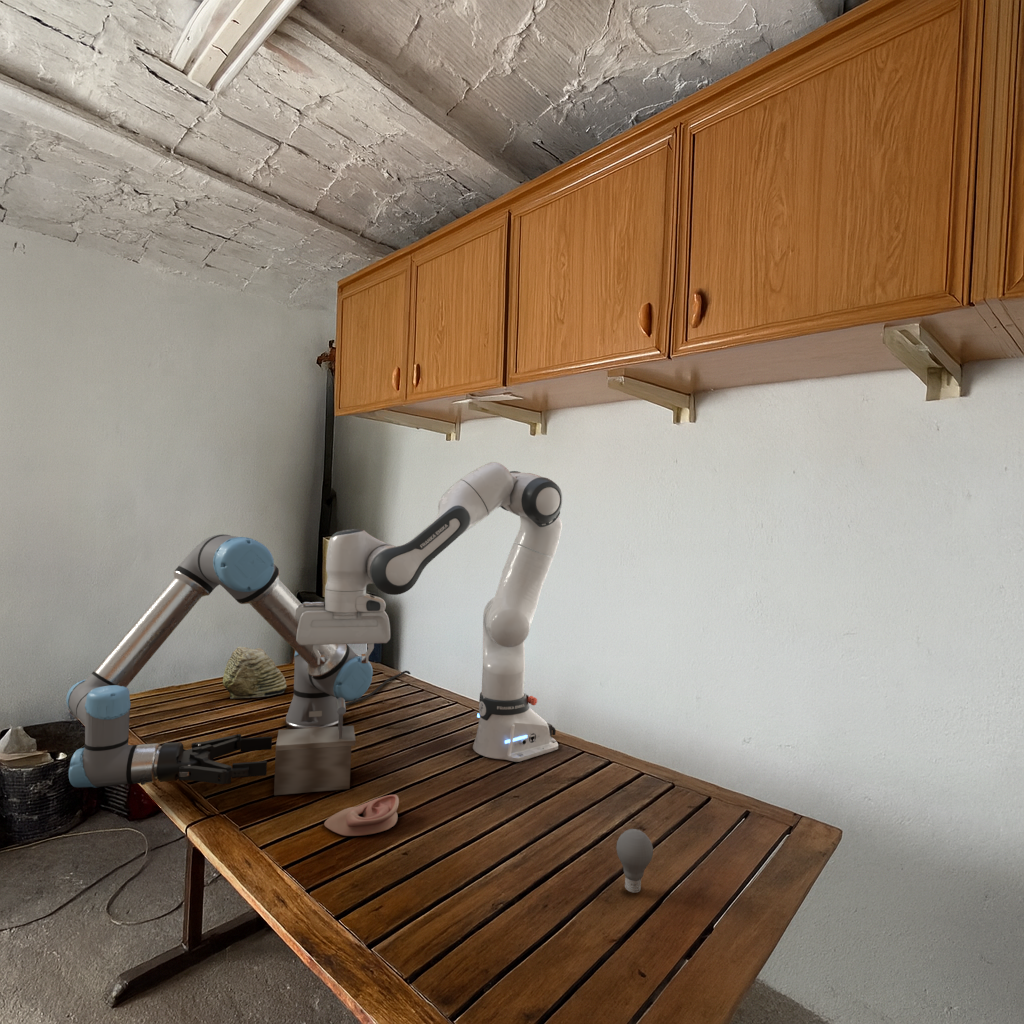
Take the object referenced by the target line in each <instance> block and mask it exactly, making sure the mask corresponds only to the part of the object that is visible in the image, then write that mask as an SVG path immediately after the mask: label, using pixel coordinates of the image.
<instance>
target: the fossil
mask: <svg viewBox="0 0 1024 1024" xmlns="http://www.w3.org/2000/svg"><path fill="white" fill-rule="evenodd" d="M222 676H223V677H222V685H223V687H224V688H225V690H226V691H228V693H229V698H230V699H250V698H264V697H271V696H275V695H281V694H284V693H285V691H286V689H287V687H288V686H287V680H286V678H285V676H284V674H283V673H282V672H281V669H279V668H278V667H277V665H276V663H275V662H274V660H273V659H272V658H271V657H270V656H269V655H268V654H267V653H266V652H265V650H264V649H263V648H260V647H258V648H251V647H247V646H246V647H245V646H238V647H237V648H236V649H235V650H233V651H232V653H231V656H230V657H229V659H228V660H227V663H226V666H225V668H224V671H223V675H222Z"/></svg>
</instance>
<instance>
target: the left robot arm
mask: <svg viewBox="0 0 1024 1024" xmlns="http://www.w3.org/2000/svg"><path fill="white" fill-rule="evenodd" d="M274 560H275V559H274V557H273V554H272V553H271V551H270V550H269V548H268V547H267V546H266V545H265V544H263V543H262V542H260V541H258V540H257V539H253V538H251V537H247V536H246V537H245V536H236V535H235V536H234V535H230V534H222V533H221V534H216V535H212V536H209V537H207V538H205V539H204V540H202V541H201V542H200V543H198V544H197V545H196V546H195V547H194V548H193V549H192V550H191V551H190V552H189V554H187V556H186V557H185V558H184V559H183V560H182V561H181V563H180V564H179V565H178V566H177V567H176V568H175V569H174V571H173V579H172V580H170V582H169V583H168V585H167V586H166V587H165V588H164V589H163V590H162V591H161V593H160V594H159V595H158V596H157V597H156V598H155V599H154V601H153V602H152V603H151V604H150V605H149V607H148V608H147V609H146V610H145V611H144V612H143V614H142V615H141V616H140V617H139V618H138V619H137V620H136V621H135V622H134V624H133V625H132V626H131V627H130V628H129V629H128V630H127V632H126V633H125V634H124V635H123V636H122V638H121V639H120V640H119V641H118V642H117V644H115V646H113V649H112V650H111V651H109V653H108V654H107V655H106V656H105V658H104V659H102V661H101V662H100V663H99V664H98V666H96V668H95V669H94V670H93V671H92V672H91V673H90V674H89V676H87V678H85V679H82V680H79V681H77V682H76V683H74V684H73V685H72V686H71V687H70V688H69V690H68V691H67V693H66V696H65V697H66V698H65V702H66V703H65V704H66V706H67V708H68V710H69V712H70V713H71V715H73V716H74V717H75V718H77V719H78V721H80V723H81V724H82V725H83V726H84V746H83V747H80V748H78V749H76V750H75V752H73V755H72V756H71V758H70V762H69V768H68V779H69V783H70V785H71V786H72V787H74V788H93V789H94V788H95V789H97V788H102V787H112V786H122V785H124V786H125V785H137V784H140V785H141V786H145V785H146V784H149V783H155V782H156V781H158V782H160V783H165V782H166V783H167V782H177V781H193V782H200V783H201V782H202V783H207V784H208V783H209V784H215V785H216V784H217V785H228V784H231V783H232V779H237V778H240V779H241V778H251V777H263V776H267V773H268V772H267V769H268V760H260V761H248V762H246V761H245V762H233V763H232V765H229V764H225V763H222V762H219V761H215V760H214V759H216V758H219V757H222V756H225V755H228V754H231V753H234V752H238V751H240V752H241V753H242V752H255V751H257V752H258V751H269V750H272V748H273V746H272V745H273V736H259V737H257V736H256V737H242V734H241V733H237V734H233V735H228V736H224V737H223V736H222V737H219V738H214V739H210V740H205V741H197V742H192V743H191V746H190V747H191V748H189V749H185V747H184V744H183V742H180V741H178V742H177V741H175V742H164V743H162V744H160V743H159V742H157V743H143V744H129V738H130V737H129V735H130V734H129V733H130V716H131V715H130V714H131V713H130V712H131V705H132V702H131V695H130V694H131V693H130V689H129V688H128V686H129V685H130V683H131V682H133V680H134V678H136V677H137V675H138V674H139V673H140V672H141V670H142V669H143V668H144V667H145V665H147V664H148V662H149V661H150V659H152V657H153V656H154V655H155V653H156V652H157V651H158V650H159V649H160V648H161V646H163V644H164V643H165V641H167V639H168V638H169V637H170V635H171V634H172V633H173V632H174V631H175V630H176V628H177V627H178V626H179V625H180V623H182V621H183V620H184V619H185V618H186V616H187V615H189V613H190V612H191V611H192V609H194V607H195V606H196V605H197V604H198V602H199V601H200V600H201V598H203V597H206V596H208V597H209V596H210V595H211V593H212V592H213V591H214V590H215V589H216V588H217V587H218V586H221V587H222V588H223V589H224V590H225V592H227V593H228V594H229V595H230V596H231V597H232V599H234V600H235V601H236V602H237V603H238V604H241V605H247V604H248V605H249V606H251V607H252V608H253V609H254V610H255V612H257V613H258V614H259V616H260V617H261V618H263V620H264V621H265V622H266V623H268V624H269V625H270V626H271V628H272V629H273V630H274V631H275V632H276V633H277V634H278V635H279V636H280V637H281V638H282V639H283V640H284V641H285V642H286V643H287V644H288V645H289V646H290V647H291V648H292V649H293V650H294V655H293V657H294V672H293V695H292V696H293V697H292V699H291V702H290V704H289V708H288V711H287V713H286V715H285V726H286V728H287V729H304V728H321V727H338V717H339V714H338V713H337V703H336V701H337V699H338V698H344V700H345V706H346V707H347V706H351V705H353V704H356V703H359V702H362V701H364V700H367V699H368V698H370V697H372V696H374V695H375V694H376V693H377V692H378V691H380V690H381V688H383V687H384V686H385V685H386V684H387V683H389V682H390V681H393V680H394V679H396V678H398V677H401V676H402V675H405V674H408V675H411V674H412V673H411V672H410V671H409V670H404V671H401V672H400V673H401V674H400V673H397V674H395V675H393V676H391V677H389V678H387V679H386V680H384V681H383V682H382V683H381V684H380V685H379V686H377V688H376V689H374V690H373V691H371V692H370V693H369V694H366V693H367V692H368V690H369V688H370V686H371V684H372V681H373V675H374V670H373V666H372V664H371V662H370V661H369V660H368V663H361V659H362V658H361V655H358V654H357V653H356V652H355V651H354V650H353V649H352V648H351V647H350V646H349V644H329V645H320V648H319V650H318V651H319V653H320V654H321V655H325V660H324V661H325V662H324V665H318V657H317V656H316V654H315V653H314V651H313V645H299V644H298V643H297V641H296V637H297V629H298V623H299V622H298V621H297V620H296V608H297V607H298V606H299V605H301V604H302V603H301V601H300V600H299V599H298V598H297V597H296V596H295V595H294V594H293V593H292V592H291V590H290V589H289V588H288V587H287V586H286V585H285V584H284V583H283V582H282V580H280V572H281V571H280V569H279V567H278V566H277V565H276V563H275V561H274ZM301 607H303V606H301ZM365 694H366V695H365Z"/></svg>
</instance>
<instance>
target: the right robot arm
mask: <svg viewBox="0 0 1024 1024" xmlns="http://www.w3.org/2000/svg"><path fill="white" fill-rule="evenodd" d="M562 504H563V492H562V490H561V488H560V486H559V485H558V484H557V483H556V482H555V481H553V480H552V479H550V478H548V477H544V476H541V475H539V474H535V473H532V472H521V471H517V470H509V469H508V467H506V466H505V465H503V464H502V463H499V462H497V461H491V462H488V463H485V464H483V465H480V466H479V467H477V468H476V469H473V470H472V471H470V472H469V473H467V474H465V475H464V476H462V477H461V478H460V479H459V480H457V481H456V482H455V483H453V484H452V485H451V486H450V487H449V488H448V489H447V490H446V491H445V492H444V493H443V494H442V495H441V496H440V498H439V500H438V506H437V507H438V509H437V510H438V511H437V515H436V517H435V518H434V519H433V520H432V521H431V522H430V523H429V524H428V525H427V526H426V527H425V528H424V529H422V530H421V531H420V532H418V533H417V534H416V535H415V536H414V537H413V538H411V539H410V540H409V541H408V542H405V543H404V544H401V545H397V546H396V545H393V544H391V543H387V542H386V541H382V540H380V539H378V538H376V537H375V536H373V535H371V534H369V532H367V531H366V530H364V529H362V528H349V529H343V530H338V531H336V532H334V533H333V534H332V535H331V536H330V538H329V540H328V543H327V550H326V560H325V571H326V574H327V575H326V577H327V578H326V583H325V587H324V589H325V590H324V601H312V602H310V601H304V602H302V603H301V605H299V606H298V607H297V608H296V620H297V621H298V622H299V623H298V629H297V637H296V641H297V643H298V644H299V645H313V651H314V653H315V654H316V656H317V657H318V665H324V662H325V661H324V660H325V655H321V654H320V653H319V651H318V650H319V648H320V645H329V644H347V645H359V644H360V645H363V644H364V645H365V644H366V647H367V649H366V651H365V653H360V654H361V655H360V656H361V658H362V659H361V663H368V661H369V657H370V655H371V654H372V652H373V651H374V648H375V644H387V643H388V642H389V641H390V640H391V623H390V618H389V615H388V614H387V612H386V611H385V610H386V606H387V604H386V601H385V600H384V599H383V598H382V597H379V596H376V595H372V594H370V593H367V586H368V585H371V584H373V585H375V587H376V588H377V589H378V590H379V591H380V592H382V593H384V594H386V595H390V596H391V595H392V596H397V595H402V594H404V593H407V592H408V591H409V590H411V589H412V588H413V587H414V586H415V584H416V583H417V582H418V580H419V578H420V576H421V575H422V572H423V571H424V570H425V568H426V567H427V566H428V565H429V563H431V562H432V561H433V560H434V559H435V558H436V557H438V556H439V555H440V554H441V553H442V552H443V551H444V550H445V549H446V548H448V547H449V546H450V545H451V544H452V543H453V542H455V541H456V540H457V539H458V538H459V537H461V536H462V535H463V534H465V533H466V532H467V531H469V530H470V529H472V528H473V527H475V526H476V525H477V524H480V523H481V522H482V521H483V520H485V519H486V518H487V517H488V516H490V515H491V514H492V513H493V512H494V511H495V510H497V509H499V508H501V509H503V510H504V511H507V512H509V513H512V514H513V515H515V516H518V517H519V519H520V526H519V529H518V532H517V534H516V537H515V538H514V541H513V543H512V546H511V549H510V551H509V554H508V556H507V559H506V561H505V563H504V566H503V568H502V570H501V571H502V572H501V576H500V579H499V583H498V586H497V589H496V593H495V594H494V597H492V598H491V599H490V600H489V601H488V602H487V603H486V605H485V606H484V609H483V615H482V617H483V618H482V670H481V671H482V672H481V692H480V693H479V698H478V699H479V701H478V713H477V715H476V718H478V725H477V729H476V734H475V737H474V738H475V739H474V742H473V745H472V749H473V751H474V752H475V753H477V754H478V755H480V756H483V757H486V758H489V759H495V760H505V761H510V762H514V763H519V762H522V761H527V760H529V759H532V758H535V757H538V756H542V755H544V754H545V755H546V754H549V753H551V752H555V751H557V750H559V743H558V742H557V740H556V739H555V738H554V737H552V736H556V733H557V730H556V728H555V727H554V726H553V724H551V723H550V722H547V721H546V720H545V719H544V718H543V717H542V716H541V715H539V713H537V712H536V711H535V710H533V709H532V708H531V707H530V705H531V706H536V705H537V703H538V698H537V697H534V696H533V695H529V694H527V693H525V684H526V683H525V682H526V681H525V680H526V653H525V652H526V651H525V641H526V639H527V638H528V636H529V633H530V630H531V626H532V624H533V621H534V617H535V614H536V611H537V607H538V604H539V601H540V596H541V592H542V589H543V587H544V584H545V581H546V578H547V576H548V573H549V570H550V568H551V566H552V563H553V561H554V558H555V556H556V553H557V550H558V547H559V542H560V538H561V535H562V531H563V521H562V519H561V518H560V514H561V509H562ZM301 606H303V607H301Z"/></svg>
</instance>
